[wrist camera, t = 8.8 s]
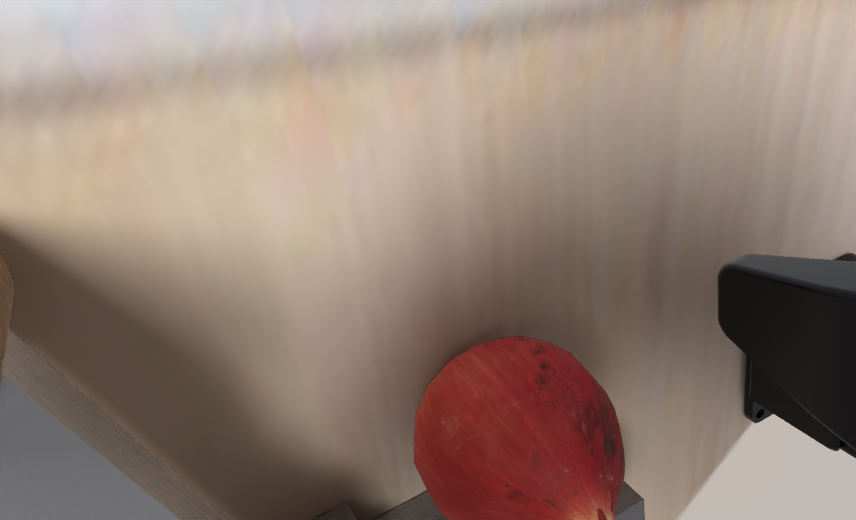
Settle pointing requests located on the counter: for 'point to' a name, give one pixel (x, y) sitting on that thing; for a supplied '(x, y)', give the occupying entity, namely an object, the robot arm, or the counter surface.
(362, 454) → the counter surface
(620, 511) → the base
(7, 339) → the lever
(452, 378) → the onion
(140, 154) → the counter surface
